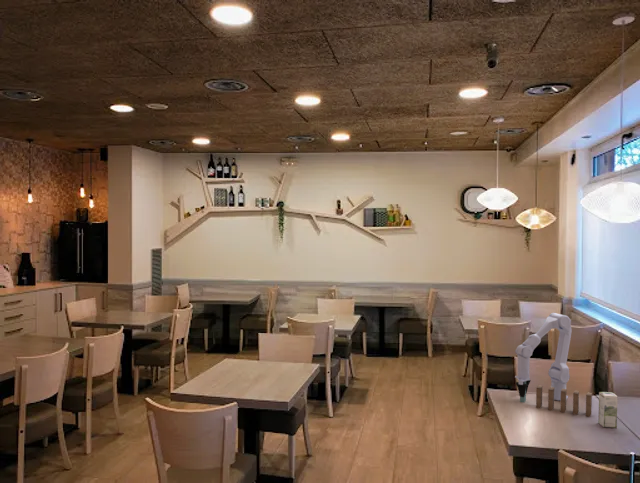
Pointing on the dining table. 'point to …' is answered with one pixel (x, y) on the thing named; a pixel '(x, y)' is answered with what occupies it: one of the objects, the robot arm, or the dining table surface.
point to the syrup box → (608, 409)
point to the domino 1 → (523, 399)
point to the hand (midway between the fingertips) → (523, 395)
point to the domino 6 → (588, 404)
